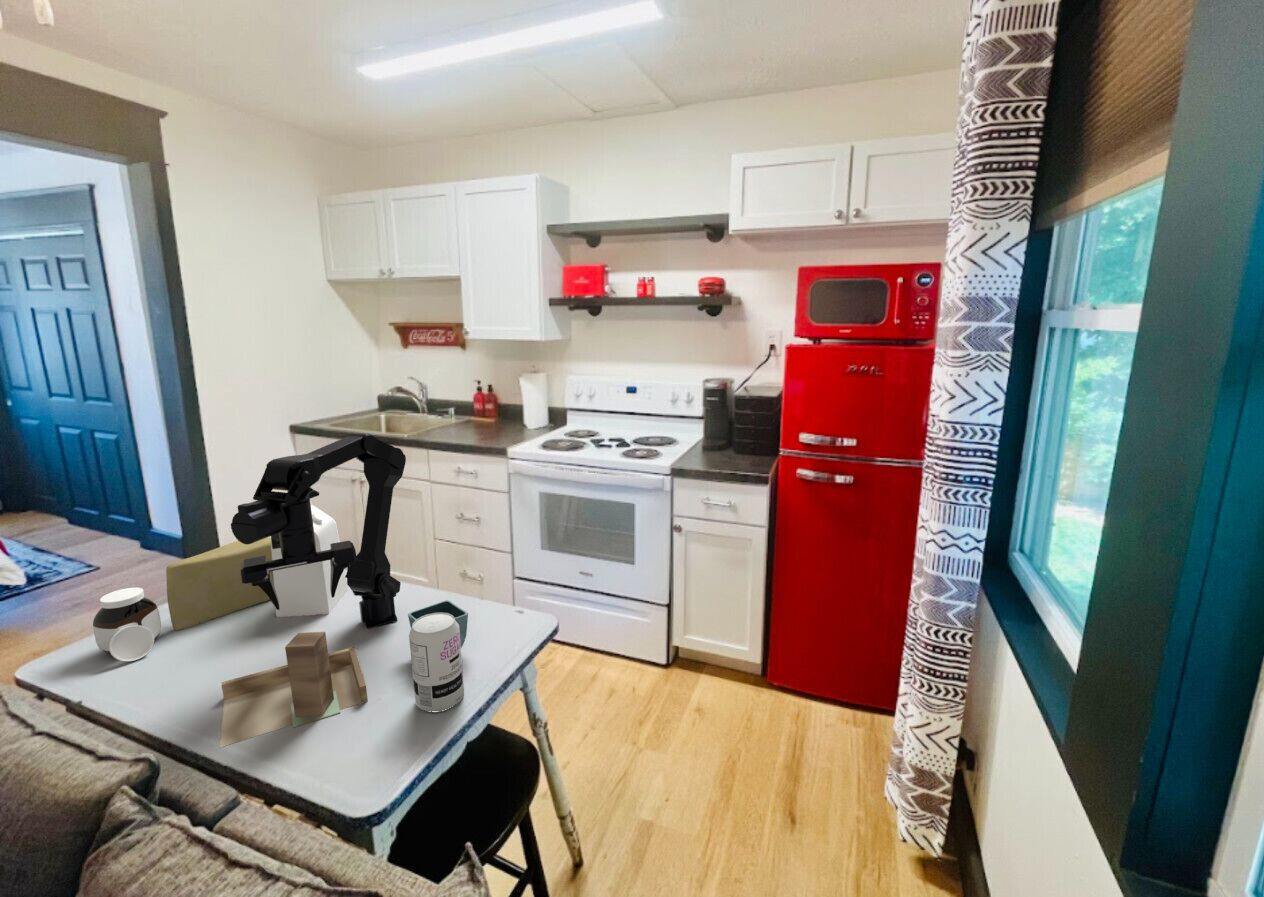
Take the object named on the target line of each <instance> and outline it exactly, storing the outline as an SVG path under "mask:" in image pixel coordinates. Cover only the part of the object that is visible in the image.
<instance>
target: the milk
mask: <svg viewBox="0 0 1264 897" xmlns="http://www.w3.org/2000/svg"><path fill="white" fill-rule="evenodd" d="M310 503H311V511H312V519H313V527H314V535H315V542H316V550H317V552H320V551H325V550H331V546H330V544H332V543H338V542H341V541H340V536H339V530H338V524H337V522H336V521H335V519H334V518H333V517H331V516H330V515H329V514H327V513H326V512H325V511H323V510H321V509H320V508H318V507H317V506H315V505H313V502H312V500H311V499H310ZM271 552H272V560H277V559H282V554H281V548H278V549H272V542H271ZM345 569H346V568H345ZM345 569H344V571H343V573H342V575H341V577H340V579H339V582H338V586H337V589H336V592H335V596H334V597H333V598H332V596H331V590H330V580H331V564H330V560H326V561H321V562H316V563H311V564H306V565H300V566H295V567H290V568H285V569H280V570H275V571H273V577H274V587H275V590H276V594H277V597H278V601H279V608H280V609H279V610H277V609H276V608H275V612H276V613H275V614H276V618H284V617H302V615H305V616H317V615H316V614H322V615H330V614H331V613H332V612H333V610H334V609H335V608H336V607H337V605H338V604H339V603H340V602H339V601H341V600H342V599H343V598H344V597H345V596H346V594H347V593H348V592H349V589H348V588H349V586H348V585H347V578H345V576H346V570H345ZM347 591H348V592H347ZM346 592H347V593H346ZM345 593H346V594H345ZM343 596H344V597H343ZM342 597H343V598H342ZM341 598H342V599H341ZM338 602H339V603H338ZM337 603H338V604H337ZM335 606H336V607H335ZM334 607H335V608H334ZM331 611H332V612H331ZM330 612H331V613H330ZM329 613H330V614H329Z"/></svg>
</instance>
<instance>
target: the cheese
mask: <svg viewBox="0 0 1264 897" xmlns="http://www.w3.org/2000/svg"><path fill="white" fill-rule="evenodd" d="M261 556H266V561H271V560H272V552H271V537H267V538H264V539H262V540H259V541H257V542H254V543H252V544H243V543H241V542H240V541H238V540H236V541H233V542H230V543H228V544H225V545H221V546H219V547H217V548H213V549H211V550H207V551H205V552H202V553H200V554H197V555H193V556H190V557H186V558H184V559H181V560H177V561H175V562H172V563H170V564H168V565H167V566H166V570H165V571H166V572H165V573H166V574H165V576H166V598H167V605H168V611H169V616H170V621H171V627H172V629H173V630H174V631H181V630H185V629H188V628H190V627H191V628H192V627H194V626H196V625H199V624H202V623H205V622H209V621H211V620H214V619H216V618H217V619H218V618H220V617H223V616H225V615H228V614H231V613H235V612H238V611H240V610H243V609H247V608H250V607H252V606H255V605H259V604H261V603H265V602H268V601H271V600H270V598H269V597H268V596H267V594H266V593H265V592H264V591H263V590H262V589H261V588H260V587H259V586H252V584H251V583H247V584H245V583H242V578H241V563H242V562H243V560H244V559H249V558H255V557H261ZM270 573H271V577H272V581H273V584H274V577H273V571H270Z"/></svg>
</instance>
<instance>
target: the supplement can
mask: <svg viewBox="0 0 1264 897" xmlns="http://www.w3.org/2000/svg"><path fill="white" fill-rule="evenodd" d="M408 640H409V650H410V660H411V670H412V680H413V690H414V701H415V704H416V706H417V708H419V709H420V710H422V711H424V710H425V712H426V711H431V712H432V711H442V710H445V709H448V708H450V707H452V706H454V705H455V704H456V705H457V704H459V703H460V702H461V701H462V699H463V697H464V694H465V684H464V675H463V674H464V672H463V658H462V648H461V644H460V631H459V624H458V623H457V622H456V620H455V618H454V617H453V615H451V614H448V613H432V614H427V615H425V616H422V617H420V618H418V619H417V620H415V622H414V623H413V625H412V628H411V627H410V630H409V634H408ZM456 705H455V706H456ZM455 706H454V707H455ZM452 708H453V707H452ZM450 709H451V708H450ZM448 710H449V709H448ZM431 712H430V713H431ZM442 712H443V711H442Z"/></svg>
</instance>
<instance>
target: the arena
mask: <svg viewBox="0 0 1264 897" xmlns="http://www.w3.org/2000/svg"><path fill="white" fill-rule="evenodd" d="M356 651H357V650H356V647H355V646H352V647H349V648H344V649H341V650H337V651H334V652H330V653H329V652H328V656H329V664H330V671H331V679H332V687H333V695H334V700H333V701H332V703H331V704H330V706H329V707H328V709H327V710H326V712H325V713H324V715H323V716H307V717H295V712H294V705H293V698H292V691H291V684H290V677H289V671H288V664H284V665H281V666H277V667H274V668H270V669H266V670H261V671H259V672H255V673H252V674H247V675H244V676H240V677H237V678H232V679H229V680H225V681H222V682H221V690H222V696H223V710H222V721H221V730H220V732H221V733H220V742H219V748H223V747H226V746H230V745H233V744H236V743H240V742H242V741H245V740H249V739H252V738H254V737H259V736H262V735H264V734H268V733H271V732H275V731H278V730H281V729H284V728H287V727H290V726H292V728H298V727H300V726H303V725H307V724H309V723H313V722H316V721H319V720H323V719H326V718H329V717H332V716H334V715H338V714H340V713H341V711H342V710H344V709H347V708H350V707H351V708H352V707H353V706H356V705H360V704H363V703H367V702H368V700H369V699H368V692H367V691H368V690H367V683H366V681H365V677H364V675H363V671H362V668H361V665H360V661H359V658H358V654H357V652H356Z"/></svg>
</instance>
